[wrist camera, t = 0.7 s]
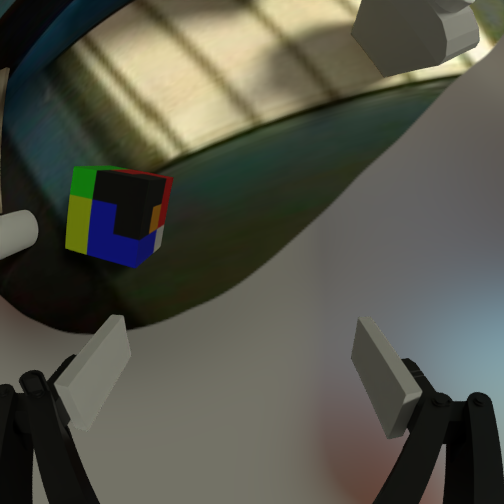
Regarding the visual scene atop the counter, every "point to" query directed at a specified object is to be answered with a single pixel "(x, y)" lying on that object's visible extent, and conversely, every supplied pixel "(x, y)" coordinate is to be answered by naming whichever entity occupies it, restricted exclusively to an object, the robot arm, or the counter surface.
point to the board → (2, 107)
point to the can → (17, 232)
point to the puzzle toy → (116, 213)
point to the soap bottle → (414, 32)
